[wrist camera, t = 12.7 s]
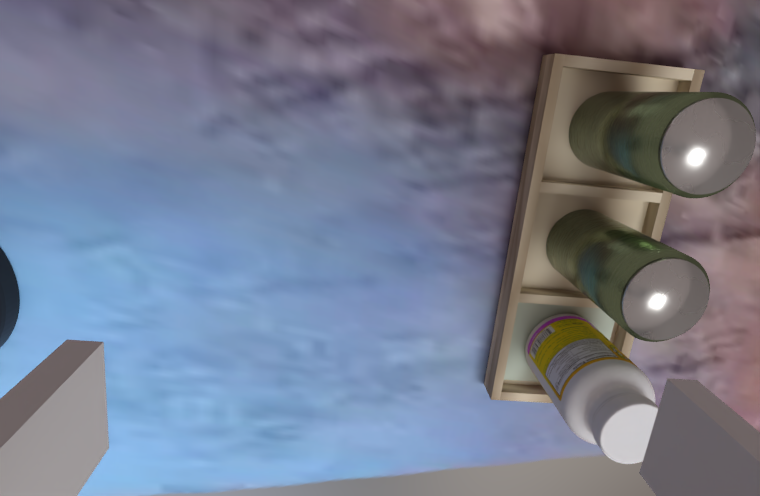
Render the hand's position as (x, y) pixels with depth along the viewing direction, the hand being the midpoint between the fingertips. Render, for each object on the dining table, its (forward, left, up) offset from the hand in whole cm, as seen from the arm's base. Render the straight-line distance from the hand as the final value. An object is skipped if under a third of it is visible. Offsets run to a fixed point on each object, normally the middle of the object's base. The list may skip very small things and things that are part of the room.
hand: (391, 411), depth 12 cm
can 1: (+19, +6, -31) cm, 36 cm away
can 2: (+19, -3, -31) cm, 36 cm away
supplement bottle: (+19, -13, -31) cm, 38 cm away
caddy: (+19, -3, -32) cm, 37 cm away
